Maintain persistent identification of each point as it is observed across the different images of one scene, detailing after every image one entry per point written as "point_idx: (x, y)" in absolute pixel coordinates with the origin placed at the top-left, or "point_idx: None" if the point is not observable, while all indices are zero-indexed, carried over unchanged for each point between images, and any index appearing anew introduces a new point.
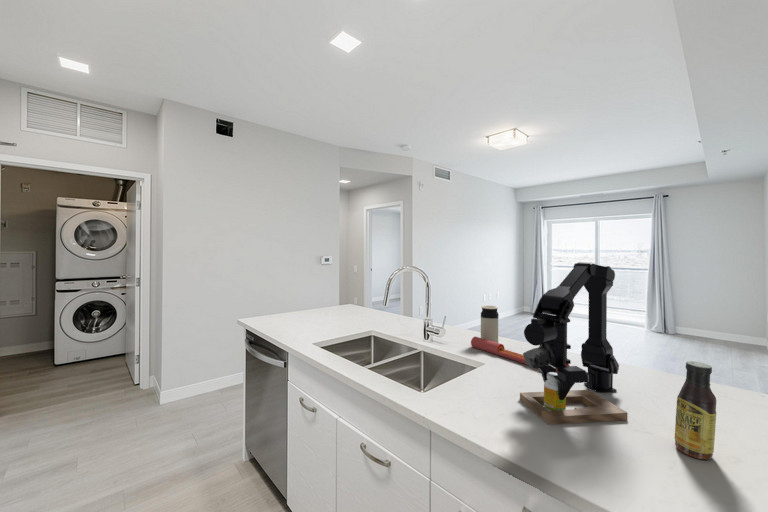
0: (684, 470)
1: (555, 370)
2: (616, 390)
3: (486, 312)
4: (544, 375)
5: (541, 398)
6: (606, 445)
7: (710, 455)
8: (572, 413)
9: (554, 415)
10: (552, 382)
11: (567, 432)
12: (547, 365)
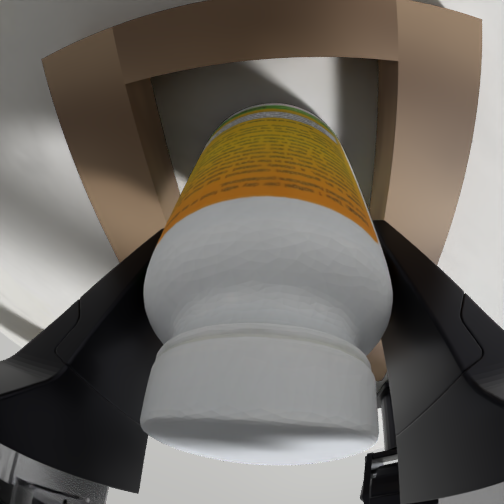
0: (8, 307)
1: (400, 455)
2: None
3: None
4: (441, 343)
5: (388, 145)
6: (9, 225)
7: None
8: (120, 224)
9: (65, 103)
10: (190, 327)
11: (29, 125)
12: (463, 491)
